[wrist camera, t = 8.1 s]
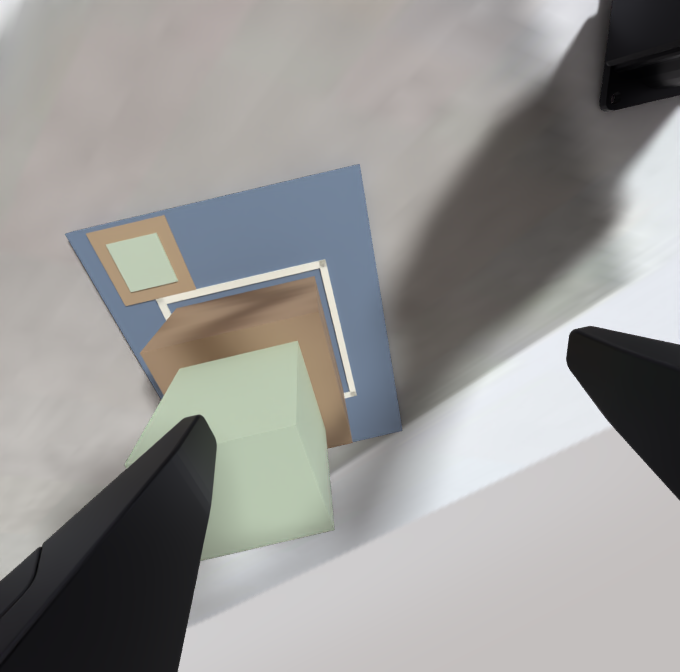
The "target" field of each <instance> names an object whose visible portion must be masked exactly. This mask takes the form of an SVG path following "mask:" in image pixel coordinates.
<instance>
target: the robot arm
mask: <svg viewBox="0 0 680 672" xmlns="http://www.w3.org/2000/svg"><path fill="white" fill-rule="evenodd" d="M613 94H614V96H615V99H614V102H613V103H611V98H612V95H613ZM677 95H680V0H613V2H612V10H611V18H610V25H609V33H608V41H607V49H606V56H605V64H604V72H603V80H602V87H601V95H600V108H601V110H603V111H613V110H618V109H622V108H626V107H631V106H635V105H639V104H643V103H648V102H652V101H656V100H660V99H665V98H669V97H673V96H677ZM566 361H567V365H568V367H569V369H570V371H571V372H572V373H573V375H574V376H575V377H576V379H577V380H578V382H579V383H580V384H581V386H582V387H583V388H584V390H585V391H586V392H587V394H588V395H589V397H590V398H591V399H592V401H593V402H594V403H595V405H596V406H597V407H598V409H599V410H600V411H601V413H602V414H603V415H604V417H605V418H606V419H607V420H608V422H609V423H610V424H611V425H612V426H613V427H614V428H615V430H616V431H617V432H618V433H619V434H620V435H621V436H622V437H623V438H624V439H625V441H627V443H628V444H629V445H630V446H631V447H632V448H633V449H634V451H635V452H636V453H637V454H638V455H639V456H640V457H641V458H642V459H643V461H644V462H645V463H646V464H647V465H648V466H649V467H650V468H651V469H652V470H653V472H654V473H655V474H656V475H657V476H658V477H659V478H660V479H661V480H662V481H663V482H664V484H665V485H666V486H667V487H668V488H669V489H670V490H671V491H672V492H673V494H674V495H675V496H676V497H677V498H678V499H679V500H680V345H679V344H674V343H669V342H665V341H660V340H655V339H651V338H646V337H641V336H636V335H632V334H627V333H622V332H617V331H613V330H608V329H603V328H599V327H594V326H587V327H583V328H578V329H574V330H573V331H571V333H570V335H569V341H568V349H567V357H566ZM216 452H217V442H216V438H215V436H214V434H213V432H212V431H211V429H210V427H209V425H208V423H207V421H206V419H205V418H204V417H203V416H202V415H200V414H198V415H193V416H189V417H185V418H183V419H182V420H181V421H180V422H178V423H177V424H176V425H175V426H174V427H173V428H172V429H171V430H170V431H168V432H167V433H166V434H165V435H164V436H163V437H162V438H161V439H159V440H158V441H157V442H156V443H155V444H154V445H153V446H152V447H150V448H149V449H148V450H147V451H146V452H145V453H144V454H143V455H142V456H140V457H139V458H138V459H137V460H136V461H135V462H134V463H133V464H131V465H130V466H129V467H128V468H127V469H126V470H125V471H124V472H122V473H121V474H120V475H119V476H118V477H117V478H116V479H115V480H114V481H112V482H111V483H110V484H109V485H108V486H107V487H106V488H105V489H103V490H102V491H101V492H100V493H99V494H98V495H97V496H96V497H94V498H93V499H92V500H91V501H90V502H89V503H88V504H87V505H86V506H84V507H83V508H82V509H81V510H80V511H79V512H78V513H77V514H75V515H74V516H73V517H72V518H71V519H70V520H69V521H68V522H67V523H65V524H64V525H63V526H62V527H61V528H60V529H59V530H58V531H56V532H55V533H54V534H53V535H52V536H51V537H50V538H49V539H47V540H46V541H45V542H44V543H43V545H42V547H39V548H37V549H36V550H35V551H34V552H33V553H32V554H31V555H29V556H28V557H27V558H26V559H25V560H24V561H23V562H22V563H21V564H19V565H18V566H17V567H16V568H15V569H14V570H13V571H11V572H10V573H9V574H8V575H7V576H6V577H5V578H3V579H2V580H1V581H0V672H178V667H179V662H180V657H181V653H182V647H183V643H184V638H185V633H186V628H187V623H188V618H189V613H190V609H191V604H192V599H193V594H194V589H195V584H196V579H197V574H198V569H199V565H200V560H201V555H202V550H203V545H204V540H205V535H206V530H207V525H208V521H209V516H210V510H211V504H212V495H213V484H214V474H215V463H216Z"/></svg>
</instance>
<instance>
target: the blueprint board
mask: <svg viewBox="0 0 680 672" xmlns="http://www.w3.org/2000/svg"><path fill="white" fill-rule="evenodd" d="M65 235H66V237H67V238H68V240H69V242H70V244H71V245H72V247H73V249H74V250H75V252H76V254H77V256H78V257H79V259H80V261H81V262H82V264H83V266H84V268H85V269H86V271H87V273H88V275H89V276H90V278H91V280H92V281H93V283H94V285H95V287H96V288H97V290H98V292H99V293H100V295H101V297H102V299H103V300H104V302H105V304H106V306H107V307H108V309H109V311H110V312H111V314H112V316H113V318H114V319H115V321H116V323H117V325H118V326H119V328H120V330H121V331H122V333H123V335H124V337H125V338H126V340H127V342H128V343H129V345H130V347H131V349H132V350H133V352H134V354H135V356H136V357H137V359H138V361H139V362H140V364H141V366H142V368H143V369H144V371H145V373H146V374H147V376H148V378H149V380H150V381H151V383H152V385H153V387H154V388H155V390H156V392H157V393H158V395H159V397H160V399H161V400H162V398H163V396H164V395H163V393H162V391H161V389H160V388H159V386H158V384H157V382H156V381H155V379H154V377H153V375H152V374H151V372H150V370H149V368H148V367H147V365H146V363H145V361H144V360H143V358H142V356H141V354H140V352H141V351H142V350H143V348H144V347H145V346H146V345H147V344H148V342H149V341H150V340H151V339H152V337H153V336H154V335H155V334H156V333H157V331H158V330H159V329H160V328H161V326H162V325H163V324H164V323H165V322H166V320H167V319H168V318H169V317H170V315H171V314H172V313H173V312H174V311H175V309H176V308H180V307H184V306H188V305H193V304H197V303H201V302H205V301H210V300H214V299H218V298H223V297H227V296H231V295H235V294H240V293H244V292H248V291H253V290H257V289H261V288H265V287H270V286H274V285H278V284H283V283H287V282H291V281H295V280H300V279H304V278H308V277H313V276H315V280H316V284H317V288H318V292H319V295H320V299H321V303H322V307H323V311H324V315H325V319H326V323H327V327H328V331H329V335H330V339H331V343H332V347H333V351H334V355H335V359H336V363H337V367H338V371H339V375H340V379H341V383H342V387H343V391H344V397H345V403H346V408H347V414H348V419H349V425H350V430H351V436H352V441H353V442H356V441H360V440H364V439H369V438H373V437H377V436H382V435H386V434H390V433H395V432H399V431H402V425H401V418H400V412H399V406H398V400H397V393H396V387H395V381H394V375H393V369H392V362H391V356H390V350H389V344H388V337H387V331H386V325H385V319H384V313H383V306H382V300H381V294H380V288H379V281H378V275H377V269H376V263H375V257H374V250H373V244H372V238H371V232H370V226H369V219H368V213H367V207H366V201H365V194H364V188H363V182H362V176H361V170H360V164H357V165H353V166H348V167H344V168H340V169H336V170H331V171H327V172H323V173H319V174H315V175H310V176H306V177H302V178H298V179H293V180H289V181H285V182H281V183H276V184H272V185H268V186H264V187H259V188H255V189H251V190H247V191H242V192H238V193H234V194H230V195H225V196H221V197H217V198H213V199H208V200H204V201H200V202H196V203H191V204H187V205H183V206H179V207H174V208H170V209H166V210H162V211H158V212H153V213H149V214H145V215H141V216H136V217H132V218H128V219H124V220H119V221H115V222H111V223H107V224H102V225H98V226H94V227H90V228H85V229H81V230H77V231H73V232H69V233H66V234H65Z"/></svg>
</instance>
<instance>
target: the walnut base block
mask: <svg viewBox="0 0 680 672" xmlns="http://www.w3.org/2000/svg"><path fill="white" fill-rule="evenodd" d="M294 341H298V343H299V346H300V349H301V353H302V356H303V359H304V362H305V365H306V369H307V372H308V375H309V378H310V382H311V385H312V388H313V391H314V394H315V398H316V401H317V404H318V407H319V410H320V414H321V417H322V420H323V423H324V426H325V430H326V440H327V449H328V448H332V447H337V446H341V445H345V444H350V443H353V441H352V436H351V430H350V425H349V419H348V414H347V408H346V403H345V397H344V391H343V387H342V383H341V379H340V375H339V371H338V367H337V363H336V359H335V355H334V351H333V347H332V343H331V339H330V335H329V331H328V327H327V323H326V319H325V315H324V311H323V307H322V303H321V299H320V295H319V292H318V288H317V284H316V280H315V276H313V277H308V278H304V279H300V280H295V281H291V282H287V283H283V284H278V285H274V286H270V287H265V288H261V289H257V290H253V291H248V292H244V293H240V294H235V295H231V296H227V297H223V298H218V299H214V300H210V301H205V302H201V303H197V304H193V305H188V306H184V307H180V308H176V309H175V311H174V312H173V313H172V314H171V315H170V317H169V318H168V319H167V320H166V322H165V323H164V324H163V325H162V326H161V328H160V329H159V330H158V331H157V333H156V334H155V335H154V336H153V337H152V339H151V340H150V341H149V342H148V344H147V345H146V346H145V347H144V348H143V350H142V351H141V352H140V354H141V356H142V358H143V360H144V361H145V363H146V365H147V367H148V368H149V370H150V372H151V374H152V375H153V377H154V379H155V381H156V382H157V384H158V386H159V388H160V389H161V391H162V393H163V395H165V393H166V391H167V389H168V388H169V386H170V384H171V382H172V381H173V379H174V377H175V375H176V374H177V372H178V370H179V369H180V368H184V367H189V366H193V365H197V364H201V363H206V362H210V361H214V360H218V359H222V358H227V357H231V356H235V355H239V354H244V353H248V352H252V351H256V350H260V349H265V348H269V347H273V346H277V345H282V344H286V343H290V342H294Z"/></svg>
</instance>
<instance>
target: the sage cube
mask: <svg viewBox="0 0 680 672" xmlns="http://www.w3.org/2000/svg"><path fill="white" fill-rule="evenodd" d="M198 414H200V415H202V416H203V417H204V418H205V419H206V421H207V423H208V425H209V427H210V429H211V431H212V432H213V434H214V436H215V438H216V442H217V452H216V463H215V474H214V484H213V495H212V504H211V510H210V516H209V521H208V525H207V530H206V535H205V540H204V545H203V550H202V555H201V560H200V561H203V560H207V559H211V558H216V557H220V556H224V555H229V554H233V553H237V552H242V551H246V550H250V549H255V548H259V547H263V546H268V545H272V544H276V543H281V542H285V541H289V540H294V539H298V538H302V537H307V536H311V535H315V534H320V533H324V532H328V531H333V530H334V519H333V507H332V496H331V485H330V474H329V463H328V451H327V440H326V430H325V426H324V423H323V420H322V417H321V414H320V410H319V407H318V404H317V401H316V398H315V394H314V391H313V388H312V385H311V382H310V378H309V375H308V372H307V369H306V365H305V362H304V359H303V356H302V353H301V349H300V346H299V343H298V341H294V342H290V343H286V344H282V345H277V346H273V347H269V348H265V349H260V350H256V351H252V352H248V353H244V354H239V355H235V356H231V357H227V358H222V359H218V360H214V361H210V362H206V363H201V364H197V365H193V366H189V367H184V368H180V369H179V370H178V372H177V374H176V375H175V377H174V379H173V381H172V382H171V384H170V386H169V388H168V389H167V391H166V393H165V395H164V396H163V398H162V400H161V402H160V403H159V405H158V407H157V409H156V410H155V412H154V414H153V416H152V417H151V419H150V421H149V423H148V424H147V426H146V428H145V430H144V431H143V433H142V435H141V437H140V438H139V440H138V442H137V444H136V445H135V447H134V449H133V451H132V452H131V454H130V456H129V458H128V459H127V461H126V463H125V465H124V466H125V467H126V468H128V467H129V466H130V465H131V464H133V463H134V462H135V461H136V460H137V459H138V458H139V457H140V456H142V455H143V454H144V453H145V452H146V451H147V450H148V449H149V448H150V447H152V446H153V445H154V444H155V443H156V442H157V441H158V440H159V439H161V438H162V437H163V436H164V435H165V434H166V433H167V432H168V431H170V430H171V429H172V428H173V427H174V426H175V425H176V424H177V423H178V422H180V421H181V420H182V419H183V418H185V417H189V416H193V415H198Z"/></svg>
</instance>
